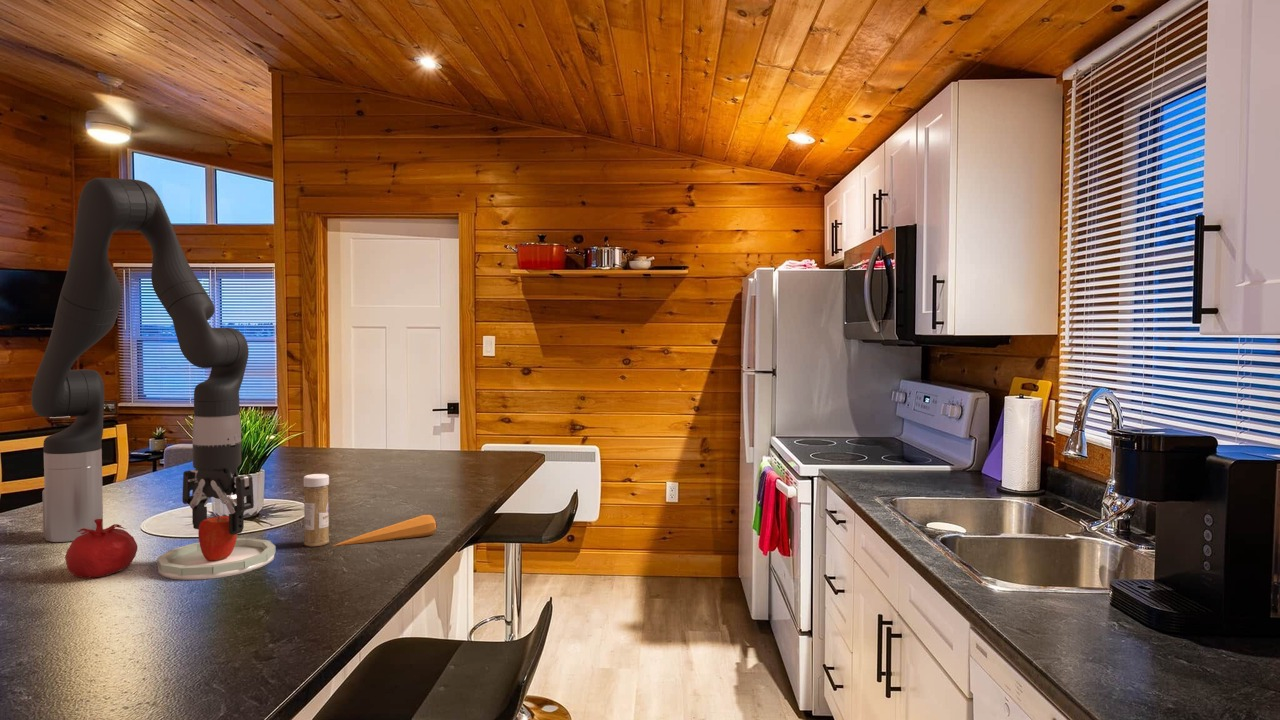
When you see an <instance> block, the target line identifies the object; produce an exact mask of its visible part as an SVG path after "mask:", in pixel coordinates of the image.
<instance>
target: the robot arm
mask: <svg viewBox="0 0 1280 720" xmlns="http://www.w3.org/2000/svg"><path fill="white" fill-rule="evenodd" d="M75 218H76V220H75V226H74V227H75V228H74V236H73V242H72V248H71V253H70V258H69V262H68V265H67V271H66V274H65V279H64V281H63V283H62V288H61V290H60V295H59V298H58V303H57V307H56V310H55V316H54V319H53V323H52V324H53V325H52V327H51V328H52V329H51V332H50V337H49V340H48V343H47V346H46V348H45V352H44V354H43V356H42V359H41V361H40V364H39V366H38V369H37V372H36V373H35V376H34V381H33V384H32V387H31V397H30V398H31V399H30V400H31V406H32V409H33V411H34V413H35V414H36V415H37V416H39V417H42V418H67V417H75V420H74V421H73V423H72V424H71V425H69V426H67V427H66V428H65V429H63V430H61V431H59V432H56V433H54V434H50V435H48V436H47V437H46V438H45V439H43V446H42V447H43V469H44V471H43V478H44V481H43V483H44V489H43V490H42V499H41V500H42V531H43V532H42V536H43V538H45V541H47V542H55V543H59V542H60V543H62V542H63V543H65V542H73V541H74V540H75V539H76V538H77V537H79V536H81V535H83V534H81V533H83V532H85V531H81V532H77V531H79V530H81V529H83V528H85V529H89V530H96V523H95V521H94V520H96V519H103V521H102V527H103V528H104V518H103V517H104V515H103V513H104V504H103V500H104V498H103V458H102V457H103V456H102V455H103V450H102V448H103V447H102V441H103V435H104V410H105V409H104V408H105V385H104V380H103V377H102V376H101V374H100V373H99V372H98V371H96V370H95V369H86V368H85V369H72V367H73V365H74V364H75V363H76V362H77V360H78V359H79V358H80V356H82V355H83V354H85V352H86V351H88V350H89V349H90V348H92V347H93V346H94V345H96V344H97V343H98V342H99V341H100V340H101V339H102V338H104V337H105V336H106V335H107V334H108V333H109V332H110V331H111V330H112V329H113V327H114V325H115V324H116V320H117V319H118V318H117V317H118V315H119V312H120V308H121V304H122V300H123V295H124V294H123V293H124V292H123V290H122V289H123V288H122V285H121V282H120V280H119V278H118V277H117V275H116V272H115V271H114V269H113V267H112V264H111V262H110V261H109V255H108V254H109V248H110V242H111V239H112V236H113V234H114V233H115V232H139V233H140V234H141V235H142V236H143V237H144V238H145V240H146V241H147V242H148V244H149V246H150V248H151V252H152V263H151V273H150V277H151V284H152V285H151V286H152V289H153V290H154V293H155V295H156V296H157V298H158V300H159V302H160V303H161V305H162V307H163V308H164V310H165V311H166V312H167V314H168V316H169V317H170V318H171V320H172V324H173V328H174V329H173V330H174V332H175V335H176V339H177V342H178V346H179V349H180V351H181V353H182V356H184V358H185V359H186V360H187V361H188V362H189V363H190V364H192V365H193V366H194V367H198V368H201V369H211V370H210V373H209V377H208V378H207V379H206V380H204V381H202V382H200V383H198V384H197V385H195V387H194V391H193V423H192V468H194V469H191V470H185V471H183V476H182V503H183V504H184V505H186V504H187V505H189V507H190V509H192V512H191V513H192V515H191V516H192V518H191V520H192V527H193V529H194V530H198V528H199V524H200V523H201V522H202V521H203V520H205V519H208V506H207V504H208V502H209V501H210V499H211V498H214V499H217V500H220V502H221V503H222V504H223V505H225V506H226V508H227V509H228V512H229V513H228V516H229V534H232V535H235V534H237V535H238V534H241V533H242V532H243V530H244V524H245V523H244V521H245V519H244V518H245V517H244V513H245V511H247V510H251V509H253V508H254V507H255V505H254V504H255V500H254V484H253V476H252V475H251V474H246V475H239V474H238V468H239V466H240V465H241V464H242V424H241V418H240V389H241V386H242V383H243V380H244V375H245V372H246V368H247V364H248V361H249V346H248V342H247V339H246V337H245V336H244V334H243V333H242V332H241V331H240V330H238V329H236V328H234V327H233V328H231V327H212V326H211V325H210V324H209V322H208V321H209V320H210V319H211V318H212V317H213V316H214V314H215V304H214V303H213V301H212V299H211V297H210V296H209V294H208V292H207V291H206V290H205V288H204V286H203V285H202V284H201V282H200V280H199V279H198V277H197V276H196V274H195V272H194V271H193V269H192V268H191V266H190V264H189V261H188V259H187V258H186V255H185V253H184V251H183V248H182V246H181V243H180V241H179V240H178V236H177V234H176V231H175V229H174V226H173V225H172V222H171V220H170V217H169V215H168V213H167V210H166V208H165V206H164V204H163V201H162V200H161V198H160V195H159V194H158V192H157V191H156V190H155V188H154V187H153V186H151V185H150V184H149V183H148V182H146V181H143V180H139V179H131V178H130V179H129V178H114V177H113V178H112V177H95V178H91V179H90V180H88V181H87V182H86V183H85V184H84V186H83V188H82V190H81V193H80V195H79V199H78V204H77V213H76V217H75ZM191 491H192V495H191ZM88 533H89V532H88ZM85 534H86V533H85Z"/></svg>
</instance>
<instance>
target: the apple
mask: <svg viewBox="0 0 1280 720" xmlns="http://www.w3.org/2000/svg"><path fill="white" fill-rule="evenodd" d="M197 530H198V541H199V543H200V547H201V551H202V554H203V556H204V557H205V559H206V560H209V561H214V560H219V559H223V558H226V557H228V556H230V554H231V553H232V551H233V549H234V546H235V544H236V539H237V538H238V534H235V535H232V534H229V515H223V516H222V515H221V516H215V517H210V518H207V519H205V520H203V521H202V522H201V523H200V524H199V528H198V529H197Z"/></svg>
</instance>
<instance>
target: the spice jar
mask: <svg viewBox="0 0 1280 720" xmlns="http://www.w3.org/2000/svg"><path fill="white" fill-rule="evenodd" d="M329 485H330V476H329V475H328V474H327V473H313V474H312V473H311V474H307V475H304V476H303V489H304V501H303V503H304V505H303V508H304V509H303V511H304V515H303V516H304V520H303V521H304V542H303V544H304V546H306V547H312V548H313V547H322V546H325V545H327V544H329V543H330V539H329V526H330V522H329V521H330V517H329V515H330V514H329V513H330V512H329V511H330V510H329V508H330V507H329Z"/></svg>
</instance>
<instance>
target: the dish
mask: <svg viewBox="0 0 1280 720" xmlns="http://www.w3.org/2000/svg"><path fill="white" fill-rule="evenodd" d="M276 550H277V549H276V545H275V544H274V543H273V542H271V541H270V540H269V539H267V540H266V539H258V538H253V537H237V539H236V544H235V546H234V549H233V551H232V553H231V554H230V556H228V557H226V558H223V559H219V560H214V561H209V560H206V559H205V557H204V556H203V554H202V551H201V547H200V543H199V542H193V543H189V544H186V545H183V546H179V547H175V548H173V549H169V550H168V551H165V552H164V553H163V554H161V555H159V556H158V557H157V558H156V561H157V562H156V565H157V571H158V574H159V575H160V576H161V577H164V578H167V579H171V580H173V579H174V580H182V581H183V580H184V581H185V580H186V581H190V580H191V581H194V580H196V581H197V580H212V579H219V578H225V577H231V576H237V575H241V574H244V573H248V572H252V571H255V570H258V569H260V568H263V567H265V566H267V565H269V564H271V562H273V560H274V559H275V554H276V552H277V551H276Z"/></svg>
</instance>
